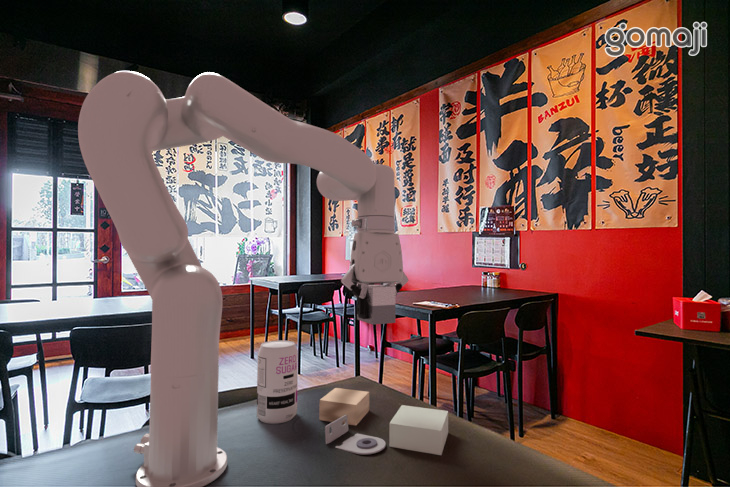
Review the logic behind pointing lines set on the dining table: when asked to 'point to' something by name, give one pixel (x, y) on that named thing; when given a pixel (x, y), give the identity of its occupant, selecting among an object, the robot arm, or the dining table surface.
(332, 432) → the bracket
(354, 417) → the stand
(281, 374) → the supplement can
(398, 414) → the stand
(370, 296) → the block
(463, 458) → the dining table surface
